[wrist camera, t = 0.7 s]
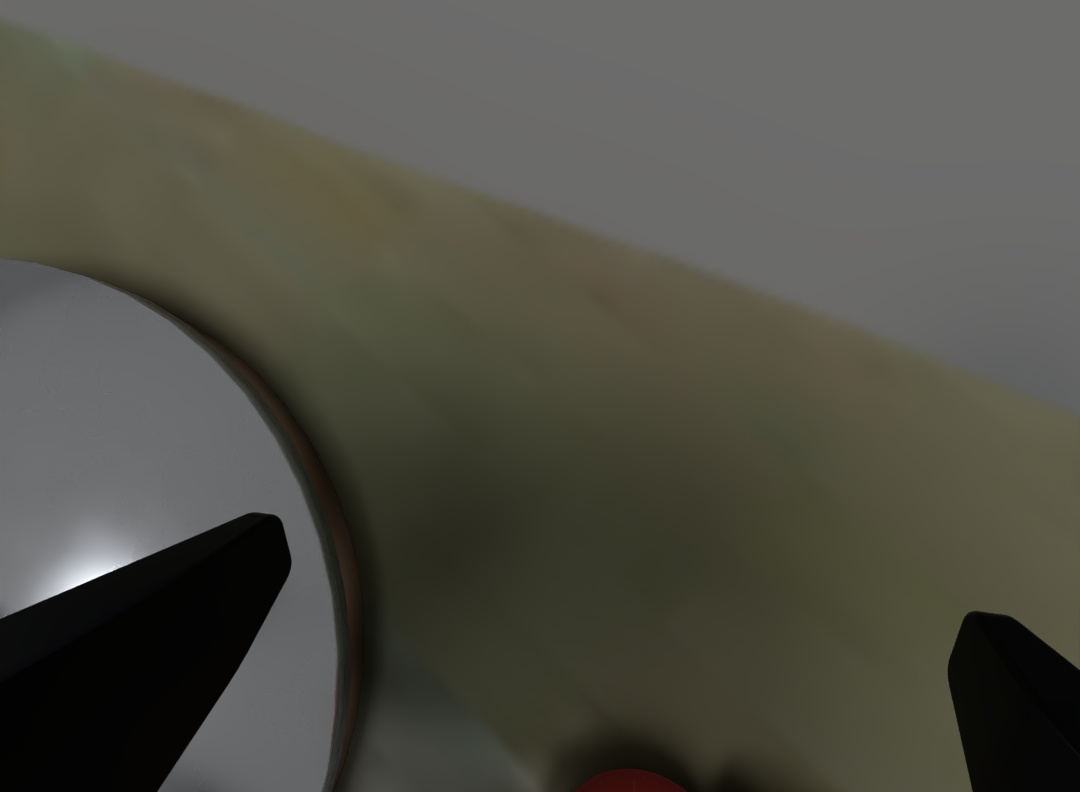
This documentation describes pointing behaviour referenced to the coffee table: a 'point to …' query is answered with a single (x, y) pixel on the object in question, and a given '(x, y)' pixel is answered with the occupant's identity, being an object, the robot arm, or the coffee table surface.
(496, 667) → the coffee table surface
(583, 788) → the kendama
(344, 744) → the walnut base
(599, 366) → the coffee table surface
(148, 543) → the handwheel
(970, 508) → the coffee table surface
